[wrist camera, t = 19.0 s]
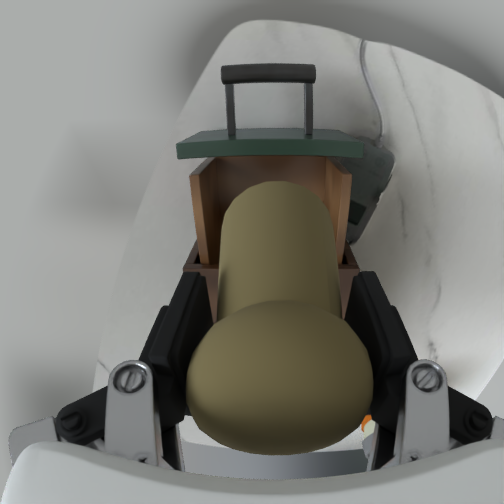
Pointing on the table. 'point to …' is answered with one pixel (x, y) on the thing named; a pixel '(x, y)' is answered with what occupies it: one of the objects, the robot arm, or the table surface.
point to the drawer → (267, 158)
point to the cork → (279, 332)
